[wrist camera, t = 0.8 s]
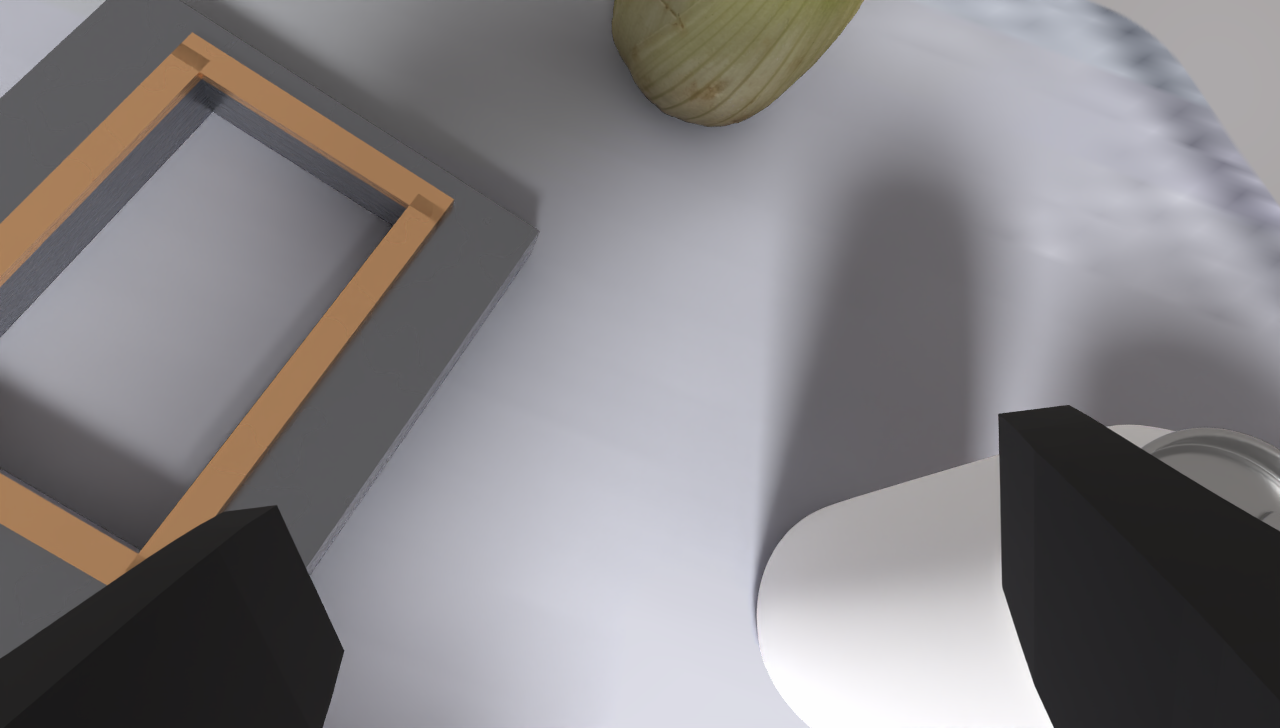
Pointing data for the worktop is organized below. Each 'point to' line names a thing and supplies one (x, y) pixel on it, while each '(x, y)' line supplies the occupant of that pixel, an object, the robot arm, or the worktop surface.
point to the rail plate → (329, 356)
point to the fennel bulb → (723, 51)
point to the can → (939, 592)
